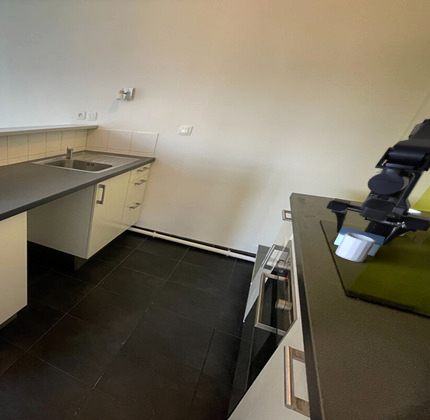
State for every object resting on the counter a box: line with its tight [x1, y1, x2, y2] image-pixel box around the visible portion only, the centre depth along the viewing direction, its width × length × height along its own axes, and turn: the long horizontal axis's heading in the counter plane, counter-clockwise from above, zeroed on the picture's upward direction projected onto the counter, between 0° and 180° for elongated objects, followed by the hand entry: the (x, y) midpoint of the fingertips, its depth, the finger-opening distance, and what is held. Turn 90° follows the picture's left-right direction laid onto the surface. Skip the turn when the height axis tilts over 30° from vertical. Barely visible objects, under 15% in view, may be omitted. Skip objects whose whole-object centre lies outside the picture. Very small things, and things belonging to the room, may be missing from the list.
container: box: [333, 226, 385, 257], centre depth 83 cm, size 9×9×5 cm
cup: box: [334, 233, 376, 263], centre depth 76 cm, size 6×6×7 cm
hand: (359, 238), depth 75 cm, fingers open, 9 cm apart
